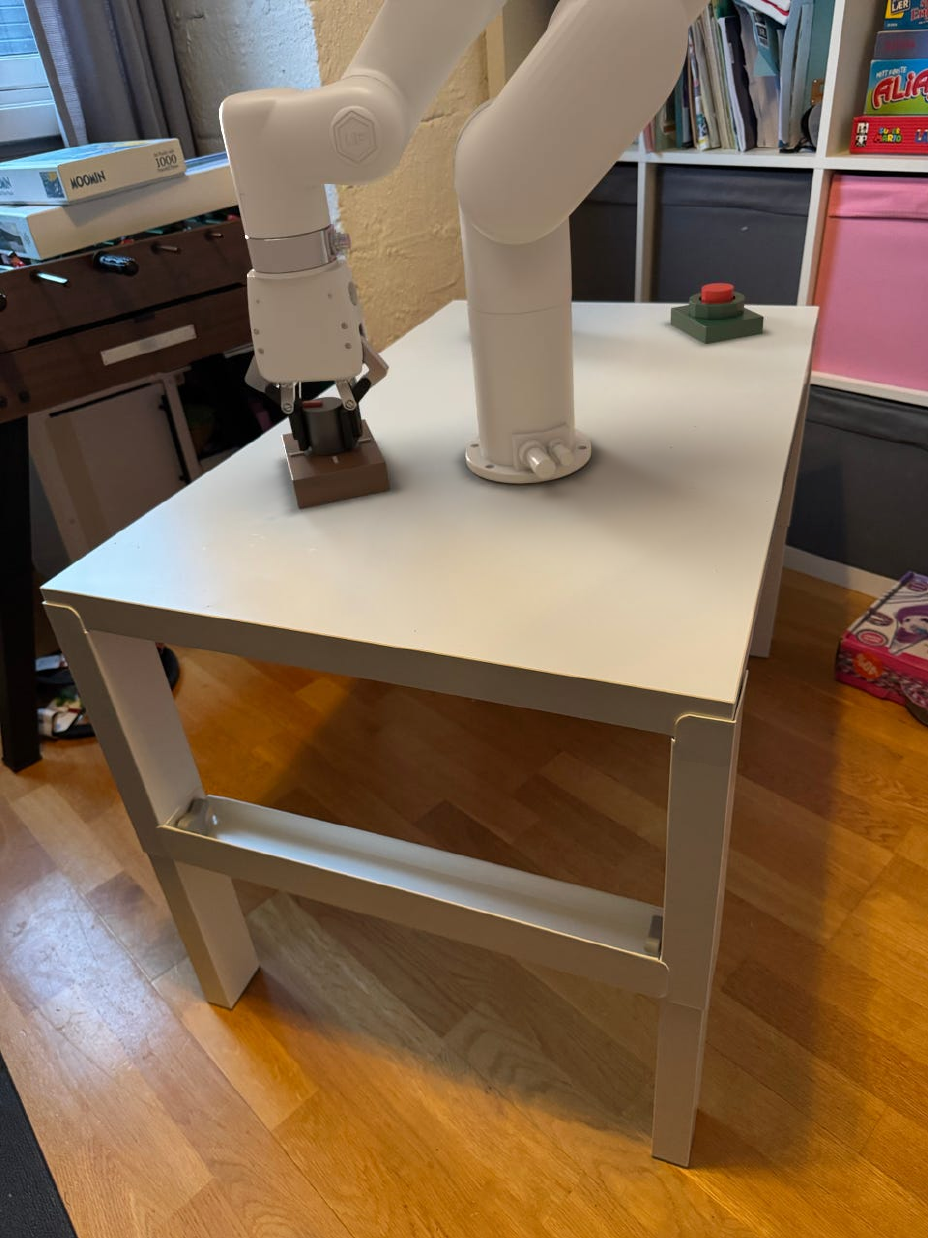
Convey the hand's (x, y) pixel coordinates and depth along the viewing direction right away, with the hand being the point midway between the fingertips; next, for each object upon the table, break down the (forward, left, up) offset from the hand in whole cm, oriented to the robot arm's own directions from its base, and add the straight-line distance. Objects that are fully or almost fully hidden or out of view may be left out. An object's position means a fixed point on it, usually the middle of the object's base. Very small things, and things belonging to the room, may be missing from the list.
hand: (329, 442), depth 88 cm
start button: (+22, -54, 0) cm, 58 cm away
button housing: (+22, -54, -4) cm, 58 cm away
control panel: (0, 0, -4) cm, 4 cm away
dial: (0, 0, 0) cm, 0 cm away
